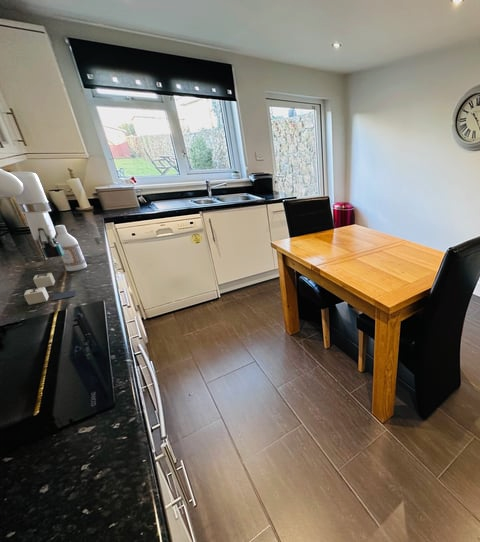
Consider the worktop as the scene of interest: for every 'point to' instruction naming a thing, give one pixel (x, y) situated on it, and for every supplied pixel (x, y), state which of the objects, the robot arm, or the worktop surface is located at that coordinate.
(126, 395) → the worktop surface
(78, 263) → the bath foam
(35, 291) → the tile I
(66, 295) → the slot pad
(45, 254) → the tile
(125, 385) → the worktop surface
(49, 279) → the tile
